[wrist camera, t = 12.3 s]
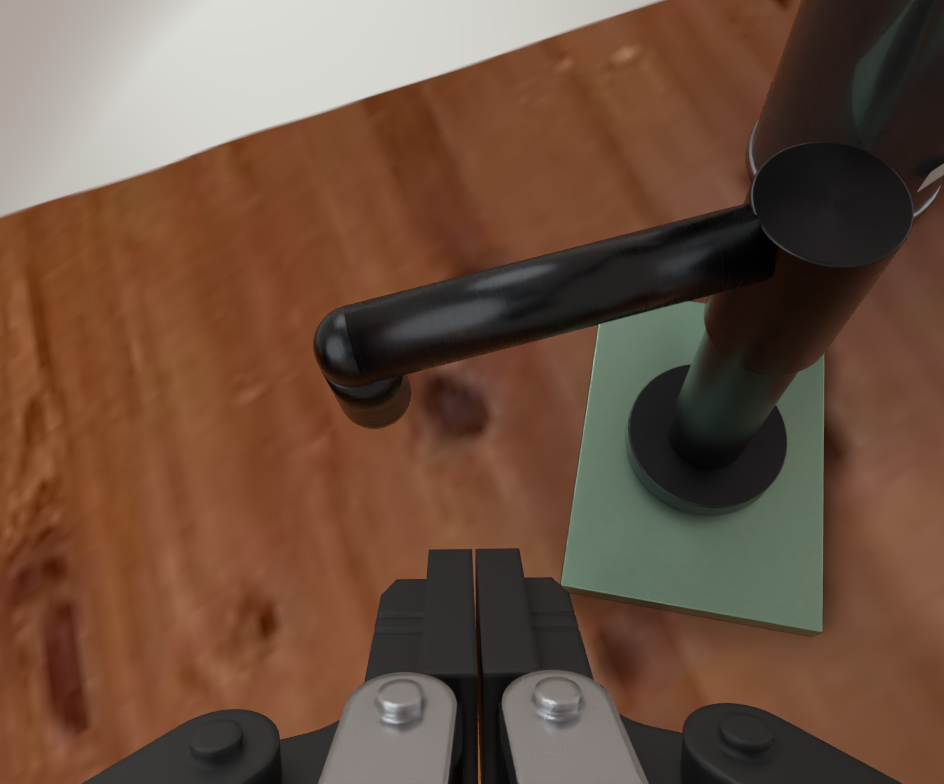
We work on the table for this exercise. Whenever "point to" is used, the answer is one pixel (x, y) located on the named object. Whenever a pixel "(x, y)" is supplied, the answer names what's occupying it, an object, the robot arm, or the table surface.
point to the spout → (650, 283)
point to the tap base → (698, 479)
